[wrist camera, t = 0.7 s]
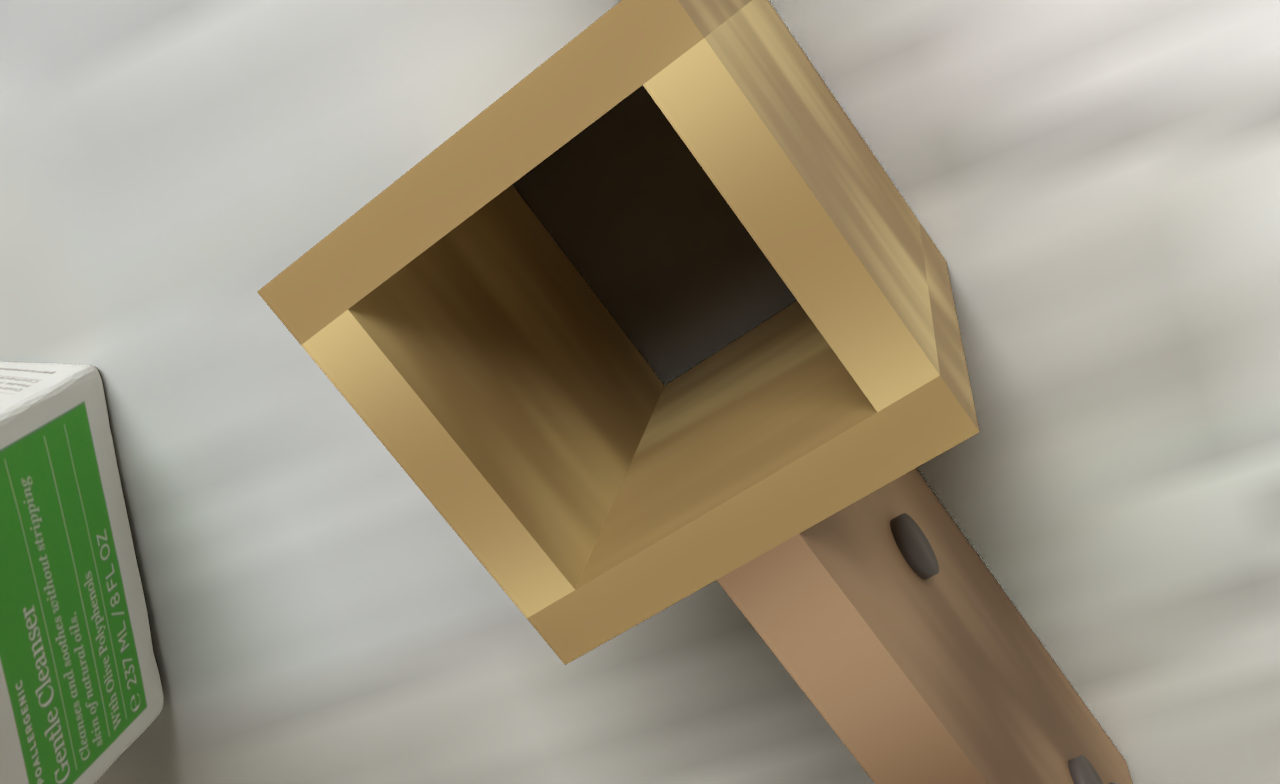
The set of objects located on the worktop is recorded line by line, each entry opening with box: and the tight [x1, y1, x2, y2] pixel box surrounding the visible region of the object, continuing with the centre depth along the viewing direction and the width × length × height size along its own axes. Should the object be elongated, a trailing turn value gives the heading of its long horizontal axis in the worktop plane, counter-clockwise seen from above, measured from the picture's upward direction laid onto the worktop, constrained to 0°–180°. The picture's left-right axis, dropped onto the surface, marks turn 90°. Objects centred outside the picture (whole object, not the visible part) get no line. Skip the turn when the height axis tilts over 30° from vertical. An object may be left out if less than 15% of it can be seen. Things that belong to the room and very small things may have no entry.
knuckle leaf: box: [258, 0, 1132, 784], centre depth 18 cm, size 16×6×7 cm, turn 37°
